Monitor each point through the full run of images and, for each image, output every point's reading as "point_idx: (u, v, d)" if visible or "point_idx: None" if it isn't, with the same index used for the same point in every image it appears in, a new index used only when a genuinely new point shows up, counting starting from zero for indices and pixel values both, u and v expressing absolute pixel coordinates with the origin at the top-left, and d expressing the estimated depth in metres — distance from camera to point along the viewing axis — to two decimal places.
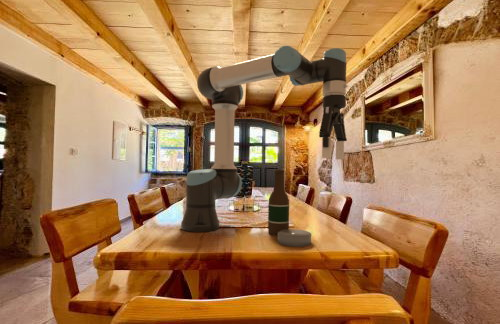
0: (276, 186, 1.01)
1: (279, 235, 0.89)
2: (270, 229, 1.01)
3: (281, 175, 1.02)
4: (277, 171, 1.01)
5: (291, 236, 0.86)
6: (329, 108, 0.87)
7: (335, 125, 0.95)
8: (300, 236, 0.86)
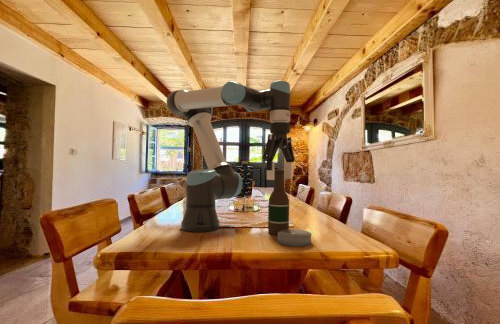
0: (276, 186, 1.01)
1: (279, 235, 0.89)
2: (270, 229, 1.01)
3: (281, 175, 1.02)
4: (277, 171, 1.01)
5: (291, 236, 0.86)
6: (272, 135, 0.97)
7: (282, 148, 1.06)
8: (300, 236, 0.86)
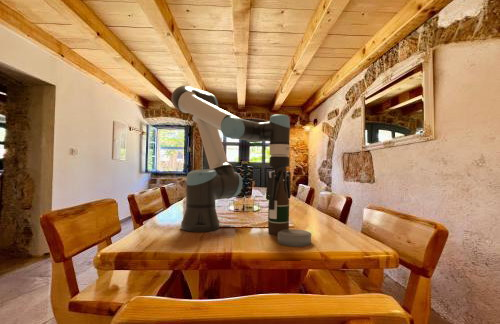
0: None
1: (279, 235, 0.89)
2: (270, 229, 1.01)
3: None
4: None
5: (291, 236, 0.86)
6: (271, 174, 0.97)
7: None
8: (300, 236, 0.86)
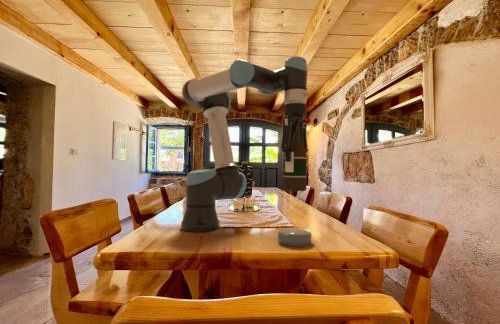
0: None
1: (279, 235, 0.89)
2: (286, 185, 0.90)
3: None
4: None
5: (291, 236, 0.86)
6: (288, 120, 0.86)
7: None
8: (300, 236, 0.86)
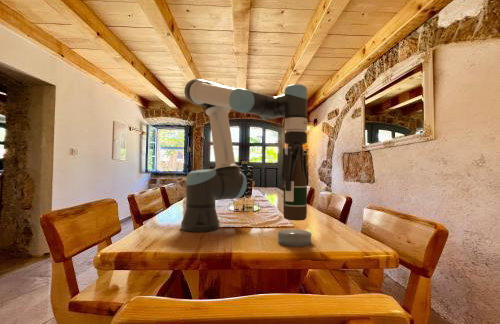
0: None
1: (279, 235, 0.89)
2: (286, 213, 0.89)
3: None
4: None
5: (291, 236, 0.86)
6: (288, 150, 0.86)
7: None
8: (300, 236, 0.86)
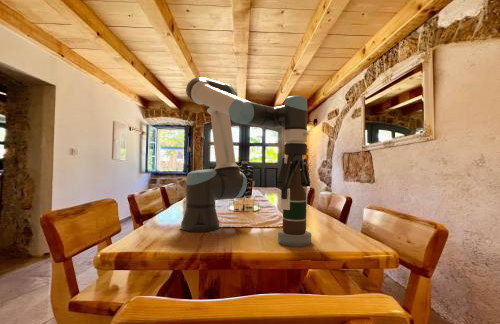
0: (292, 179, 0.90)
1: (279, 235, 0.89)
2: (285, 228, 0.89)
3: (297, 167, 0.90)
4: None
5: (291, 236, 0.86)
6: (287, 159, 0.85)
7: None
8: (300, 236, 0.86)
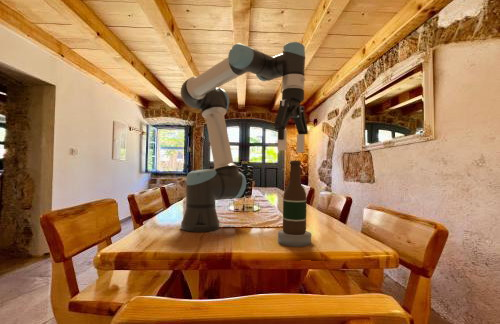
0: (292, 179, 0.90)
1: (279, 235, 0.89)
2: (285, 228, 0.89)
3: (298, 167, 0.90)
4: (293, 162, 0.90)
5: (291, 236, 0.86)
6: (285, 101, 0.88)
7: (295, 118, 0.97)
8: (300, 236, 0.86)
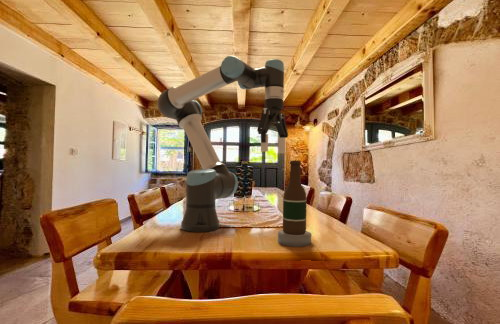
0: (292, 179, 0.90)
1: (279, 235, 0.89)
2: (285, 228, 0.89)
3: (298, 167, 0.90)
4: (293, 162, 0.90)
5: (291, 236, 0.86)
6: (266, 109, 1.03)
7: (276, 124, 1.12)
8: (300, 236, 0.86)
